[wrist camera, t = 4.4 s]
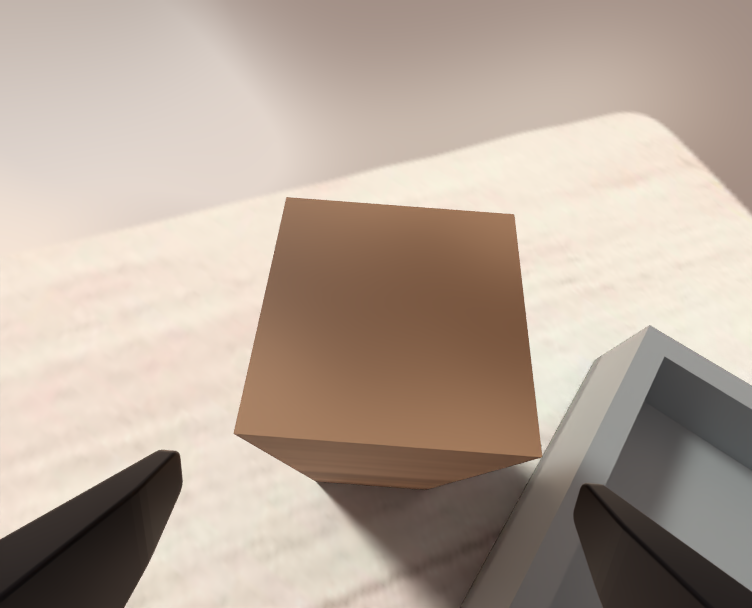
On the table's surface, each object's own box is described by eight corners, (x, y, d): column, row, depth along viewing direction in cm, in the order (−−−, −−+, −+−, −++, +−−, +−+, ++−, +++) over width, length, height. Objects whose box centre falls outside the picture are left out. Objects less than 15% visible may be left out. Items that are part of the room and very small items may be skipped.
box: (891, 549, 17) (1048, 561, 13) (834, 972, 12) (1065, 1199, 8) (594, 359, 21) (649, 325, 17) (451, 623, 16) (482, 662, 12)
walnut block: (425, 489, 18) (541, 456, 6) (315, 481, 18) (233, 433, 6) (427, 381, 20) (514, 214, 9) (329, 374, 20) (286, 197, 9)
